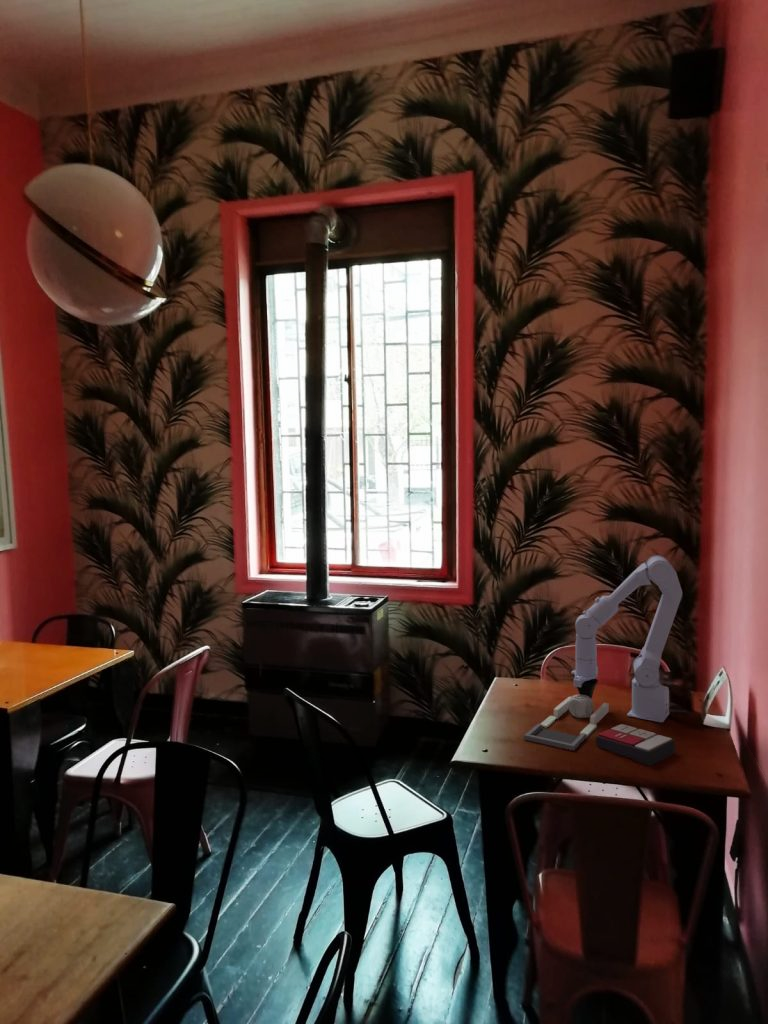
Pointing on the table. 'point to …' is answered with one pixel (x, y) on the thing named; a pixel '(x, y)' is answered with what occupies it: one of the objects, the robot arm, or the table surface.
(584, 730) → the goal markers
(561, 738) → the tray
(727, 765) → the table surface
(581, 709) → the die
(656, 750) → the calculator
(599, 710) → the white guide rails
